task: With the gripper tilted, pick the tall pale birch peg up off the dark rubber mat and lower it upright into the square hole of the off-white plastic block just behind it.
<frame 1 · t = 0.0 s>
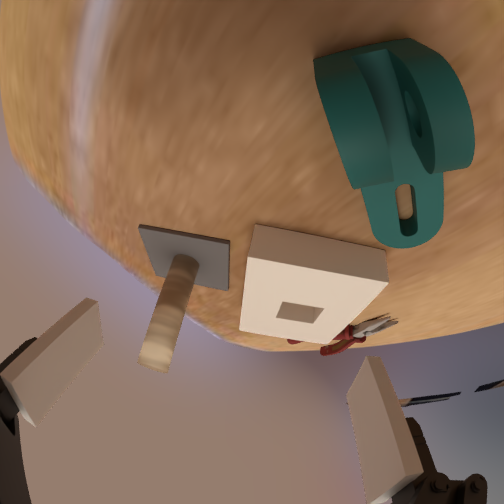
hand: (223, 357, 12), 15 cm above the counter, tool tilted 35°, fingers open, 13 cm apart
bracket: (394, 153, 18), on the counter
hole block: (301, 285, 35), on the counter
mat: (187, 259, 35), on the counter
peg: (186, 262, 35), resting on mat
pliers: (345, 331, 47), on the counter
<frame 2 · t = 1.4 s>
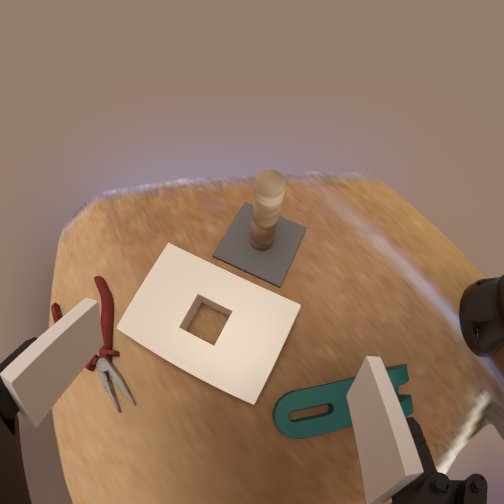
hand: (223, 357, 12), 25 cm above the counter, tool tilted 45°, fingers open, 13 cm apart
bracket: (335, 404, 33), on the counter
hole block: (209, 325, 37), on the counter
mat: (261, 242, 43), on the counter
peg: (261, 240, 43), resting on mat
pliers: (91, 345, 35), on the counter
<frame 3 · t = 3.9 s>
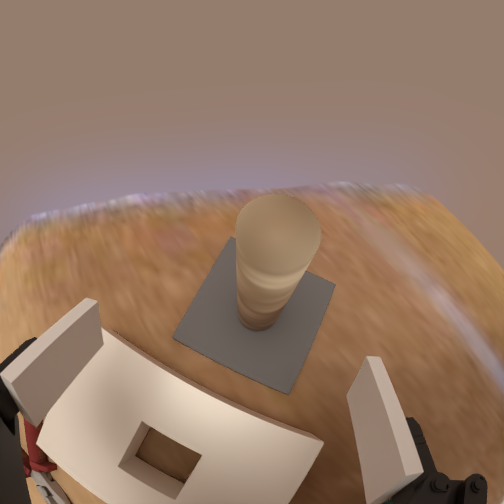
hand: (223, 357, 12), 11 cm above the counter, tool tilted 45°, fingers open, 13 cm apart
hole block: (170, 450, 18), on the counter
mat: (257, 313, 24), on the counter
peg: (257, 311, 24), resting on mat
pliers: (25, 443, 16), on the counter
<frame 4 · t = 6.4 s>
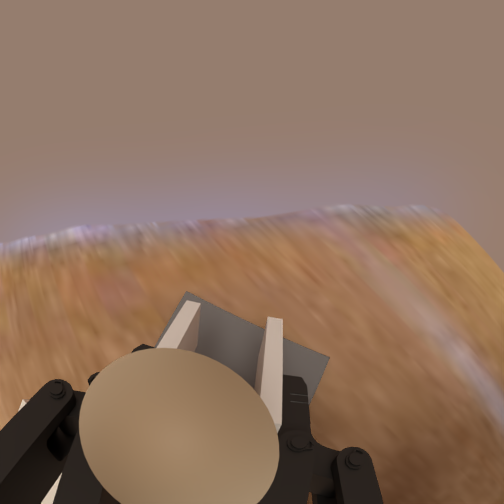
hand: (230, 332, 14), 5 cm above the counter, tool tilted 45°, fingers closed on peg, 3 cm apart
mat: (221, 397, 16), on the counter
peg: (220, 397, 16), resting on mat, touching gripper
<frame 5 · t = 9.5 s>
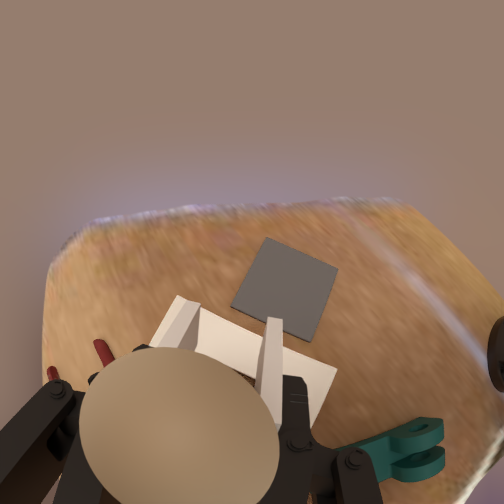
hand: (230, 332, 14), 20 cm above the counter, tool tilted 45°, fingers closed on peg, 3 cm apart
bracket: (367, 459, 26), on the counter
hole block: (229, 389, 30), on the counter
mat: (287, 288, 36), on the counter
peg: (220, 397, 16), point 16 cm above the counter, touching gripper
pliers: (97, 416, 27), on the counter
when the fingers open (7 cm above the counter, at t = 12.6 s): peg drops 2 cm, resting in hole block.
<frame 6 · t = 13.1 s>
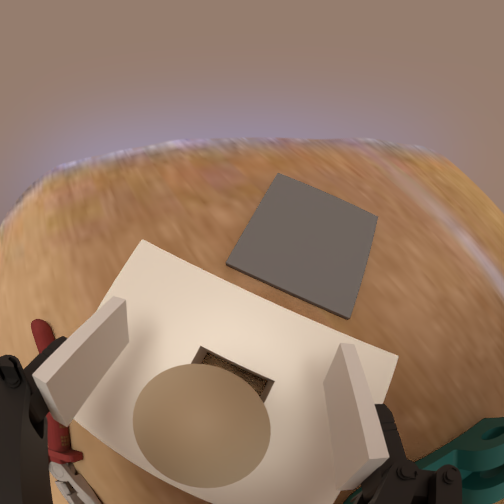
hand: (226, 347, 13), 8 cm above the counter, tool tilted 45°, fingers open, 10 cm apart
bracket: (422, 483, 14), on the counter
hole block: (222, 395, 18), on the counter
mat: (310, 239, 24), on the counter
peg: (223, 396, 18), resting in hole block
pliers: (40, 430, 15), on the counter
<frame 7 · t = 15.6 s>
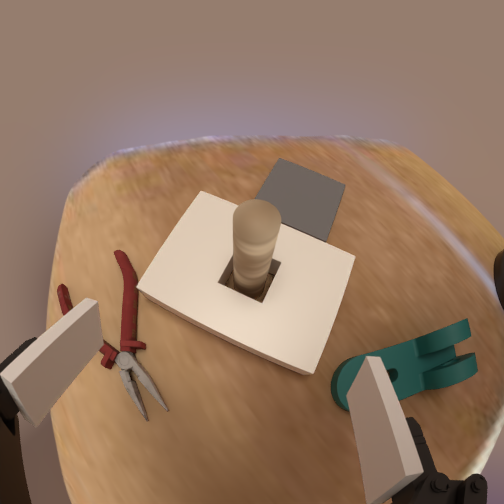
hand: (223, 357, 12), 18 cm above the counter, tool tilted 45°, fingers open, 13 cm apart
bracket: (395, 371, 28), on the counter
hole block: (248, 285, 32), on the counter
mat: (300, 197, 39), on the counter
peg: (249, 285, 32), resting in hole block
pliers: (107, 337, 29), on the counter
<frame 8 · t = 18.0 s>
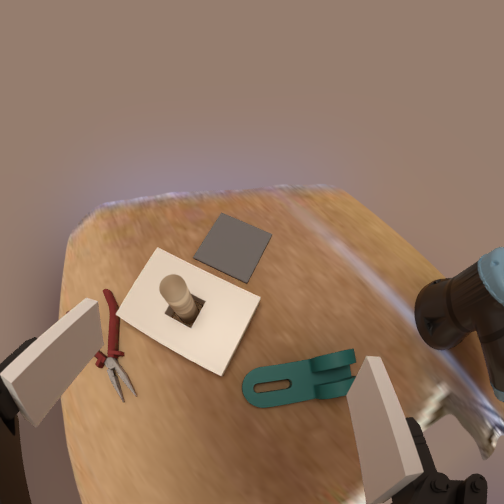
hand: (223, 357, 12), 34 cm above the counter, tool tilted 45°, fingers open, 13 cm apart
bracket: (295, 381, 42), on the counter
hole block: (189, 313, 46), on the counter
mat: (233, 246, 52), on the counter
peg: (189, 313, 46), resting in hole block
pliers: (100, 347, 43), on the counter
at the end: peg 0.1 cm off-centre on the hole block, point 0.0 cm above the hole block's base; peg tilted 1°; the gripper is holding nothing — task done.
